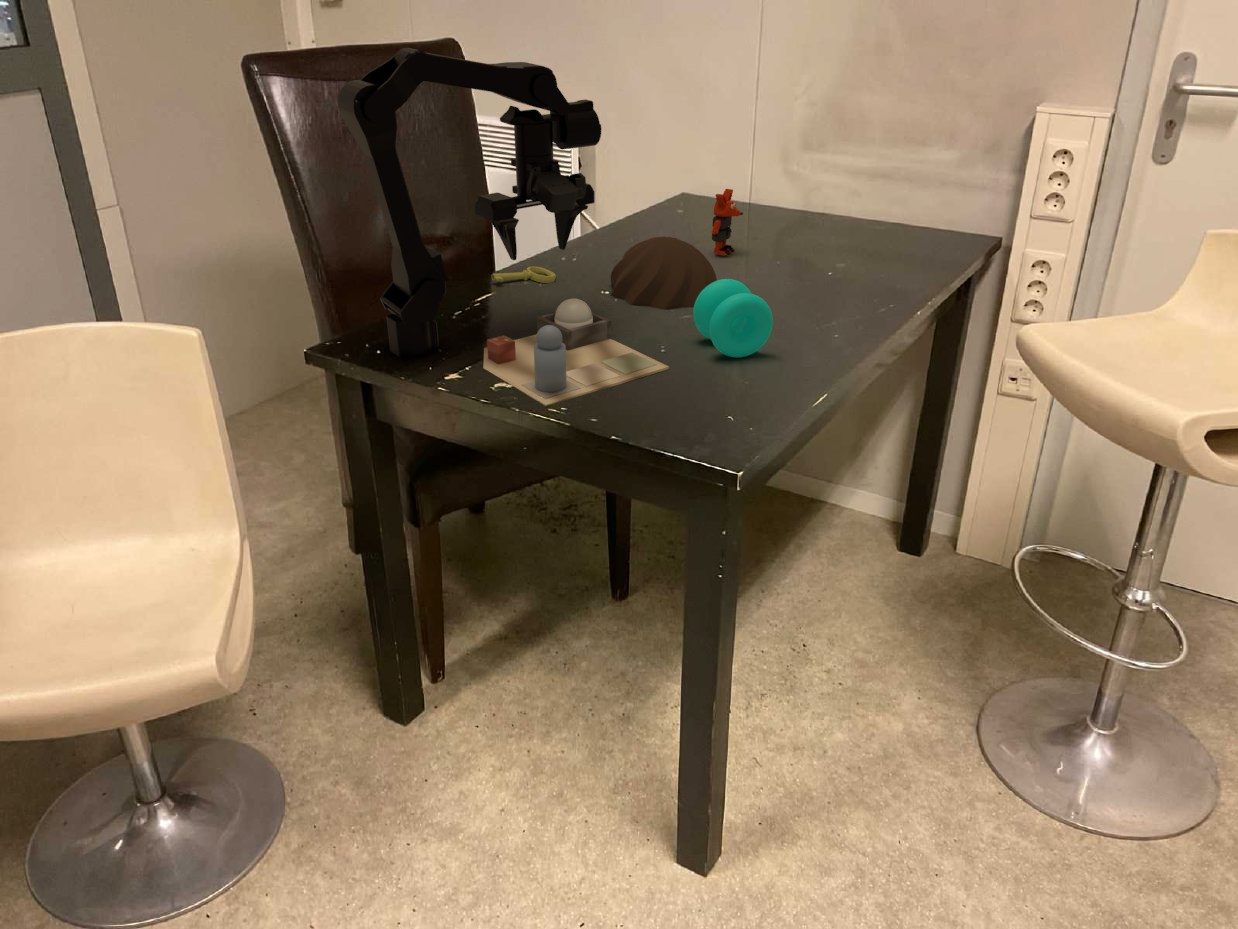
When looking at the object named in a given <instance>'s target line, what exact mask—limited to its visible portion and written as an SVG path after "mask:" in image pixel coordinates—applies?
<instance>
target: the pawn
mask: <svg viewBox="0 0 1238 929" xmlns="http://www.w3.org/2000/svg"><path fill="white" fill-rule="evenodd" d="M536 334H537V336H536V341H537V343H536V344H535V345H534V366H535V387H536V389H537V390H539V391H541V392H547V393H553V392H559V391H562V390H564V389H565V388H566V387H567V383H566V346H565V344H564V343H562V334H561V331H560V330H559V329H558V328H557V327H555V326H552V325H546V326H543V327H542V328H540V330H539V331H538V333H537V332H536Z"/></svg>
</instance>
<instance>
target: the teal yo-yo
mask: <svg viewBox="0 0 1238 929" xmlns="http://www.w3.org/2000/svg"><path fill="white" fill-rule="evenodd" d="M692 317H693V322H694V326H695V327H696V329H697V330H698V331H699V333H700V334H701V335H702V336H703V337H705V338H706V339H708V340H710V341H711V342H712V344H713V346H714V347H715V348H716V350H718V352H720V353H721V354H722V355H724V356H726V357H729V358H730V357H731V358H745V357H748V356H751V355H753V354H755V353H756V352H758V351H759V350H760V349H762V348H763V347H764V345H765V344H766V343H767V342H768V340H769V339H770V336H771V334H772V331H773V327H774V326H773V324H774V319H773V313H772V309H771V308H770V306H769V304H768V303H767V302H766V300H764V299H763V297H760V296H758V295H757V294H754V293H752V292H751V290H750V289H749V287H747V286H746V285H745V283H743V282H741V281H739V280H737V279H731V278H722V279H718V280H717V281H715V282H713V283H711V284H709V285H708V286H707V287H705V288H704V289H703V290H702V291H701V293H700V294H699V296H698V297H697V299H696V302H695V305H694V307H693V311H692Z"/></svg>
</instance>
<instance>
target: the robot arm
mask: <svg viewBox="0 0 1238 929" xmlns="http://www.w3.org/2000/svg"><path fill="white" fill-rule="evenodd" d="M557 81H558V80H557V77H556V75H555V74H554V71H553V70H552V69H551V68H549V67H547V66H544V65H541V64H540V65H539V64H535V63H530V62H527V61H511V62H499V63H485V62H479V61H474V60H468V59H463V58H457V57H451V56H447V55H440V54H435V53H429V52H424V51H423V50H420V49H417V48H411V47H404V48H400V49H399V50H398V51H397V52H396V53H395V54H394V55H393V56H392V57H390V58H389V59H388V60H386V61H384V62H383V63H381V64H379V65H378V66H376V67H375V68H373V69H371V70H370V71H368V72H367V73H366V74H364V75H363V76H362V77H361V78H360V79H355V80H354V79H353V80H351V81H349V82H346V83H345V84H344V85H343V87H342V88H341V89H340V92H339V93H338V94H337V107H338V110H339V113H340V114H341V116H342V119H343V120H344V122H345V124H346V126H347V129H348V130H349V133H350V134H351V135H352V137H353V138H354V139H355V142H356V143H357V145H358V147H359V148H360V149H361V151H362V153H363V155H364V158H365V162H366V165H367V167H368V171H369V174H370V177H371V181H372V183H373V187H374V190H375V194H376V197H377V200H378V204H379V207H380V210H381V213H382V218H383V219H384V222H385V226H386V230H387V232H388V237H389V239H390V243H391V246H392V250H391V263H390V265H391V274H392V281H391V282H390V284H389V285H388V287H387V288H386V289H385V290H384V291H383V293H382V294H381V296H380V297H379V299H380V302H381V303H382V305H383V308H384V309H385V310H386V311H388V312H390V313H391V314H389V315H386V325H387V333H388V341H389V351H390V353H393V355H395V356H397V357H398V358H399V359H400V360H401V361H403V362H404V361H410V360H414V359H419V358H423V357H426V356H431V355H435V354H440V353H442V350H441V349H440V348H439V344H440V343H439V332H438V323H437V321H436V317H437V313H438V309H439V306H440V302H441V301H442V300H443V299H444V296H445V295H446V294H447V284H446V282H449V280H450V279H449V277H448V276H447V275H446V273H445V269H444V263H443V257H442V255H441V254H440V253H439V252H437V251H435V250H433V249H432V248H431V247H428V246H427V245H425V243H424V241H423V237H422V234H421V231H420V227H419V224H418V221H417V217H416V213H415V210H414V206H413V203H412V200H411V196H410V193H409V189H408V185H407V183H406V179H405V175H404V171H403V169H402V165H401V162H400V159H399V154H398V151H397V140H398V130H399V129H398V121H397V120H398V119H397V111H398V110H399V109H400V108H401V107H402V106H404V104H406V103H407V102H408V100H409V99H410V97H411V96H412V95H413V93H414V92H415V90H416V89H417V88H418V87H419V85H421V84H422V83H423V82H427V83H428V82H429V83H434V84H441V85H447V86H454V87H457V88H458V87H460V88H464V89H465V88H466V89H470V90H476V91H477V90H478V91H483V92H489V93H493V94H495V95H498V96H501V97H502V98H506V99H508V100H511V101H513V102H516V103H520V104H523V105H526V106H529V107H533V108H537V109H541V110H545V111H548V112H549V113H546V114H542V113H541V112H540V111H539V110H537V109H526V110H522V109H521V110H520V109H519V107H517V106H514V105H509V106H508V109H506V112H504V113H503V114H502V116H500V117H499V122H501V123H503V124H505V125H506V124H507V125H510V126H513V127H514V128H513V130H514V132H513V133H514V150H515V151H514V152H515V153H514V154H515V157H513V158H510V165H511V167H515V172H516V173H515V176H516V184H515V185H512V190H511V192H512V193H513V194H515V196H508V195H506V194H503V193H500V192H493V193H487V194H481V195H478V197H477V198H476V200H475V201H474V209H475V210H474V211H475V215H477V216H480V217H482V218H483V219H484V220H485V221H486V220H487V221H489V222H490V223H491V224H492V226H493V228H494V229H495V231H496V232H497V234H498V236H499V238H500V240H501V242H502V244H503V246H504V248H505V250H506V252H507V254H508V256H509V259H511V260H512V261H516V260H517V254H518V252H517V251H518V250H517V248H518V247H517V237H516V228H517V226H518V223H519V222H520V221H519V220H520V219H518V218H515V216H516V215H517V213H518V210H521V209H526V208H531V207H536V206H537V207H538V206H541V205H543V206H544V208H545V210H546V211H547V212H549V213H552V214H553V215H554V221H555V229H556V238H557V243H558V244H557V245H558V248H559V249H560V250H562V251H565V250H566V247H567V244H568V240H569V238H570V235H571V231H572V230H573V226H574V223H575V221H576V219H577V217H578V216H579V215H580V214H581V213H582V212H583V211H586V210H588V208H589V206H588V205H590V204H595V202H596V201H595V200H596V199H595V198H596V197H595V193H596V192H595V191H594V188H593V186H592V185H591V184H589V183H587V181H586V176H585V175H583V173H582V172H577V173H573V174H572V173H571V174H570V175H568V174H567V175H562V173H561V170H560V168H561V166H560V164H559V160H558V159H557V160H556V159H554V144H555V145H556V147H557V148H559V150H569V149H571V150H572V149H577V148H585V147H594V146H596V145H598V144H599V142H600V140H601V137H602V124H601V123H600V120H599V119H600V118H599V116H598V113H597V112H596V110H595V109H594V102H593V100H589V99H585V98H584V99H579V100H577V101H571V102H569V101H568V100H567V98H565V96H564V94H563V93H562V91H561V90H560V89H559V87H558V82H557Z"/></svg>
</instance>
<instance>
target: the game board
mask: <svg viewBox="0 0 1238 929" xmlns="http://www.w3.org/2000/svg"><path fill="white" fill-rule="evenodd" d="M591 312H592V316H593V323H591V324H587V325H583V326H580V327H576V328H572V329H567V328H564V327H562V326H560V325H558V324H556V323H555V314H556V311H555V312H551V313H547V314H543V315H539V316H536V334H533V335H529V336H525V337H522V338H518V339H517V338H516V339H512V338H510V337H508V336H506V335H500V336H496V337H492V338H489V339H486V345H487V346H486V347H484V348H483V369H484V370H486V371H487V372H490V373H491V374H493V375H494V376H496V377H498V378H499V379H501V380H502V381H504V382H505V383H506V384H509V385H510V386H512V387H514V388H515V389H517V390H519V391H520V392H522V393H523V394H525V395H527V396H528V397H530V398H531V399H533V400H535V401H536V402H538V403H540V404H542V405H543V406H545V407H546V406H550V405H551V406H552V405H555V404H557V403H560V402H564V401H567V400H571V399H574V398H577V397H581V396H584V395H588V394H591V393H594V392H599V391H602V390H605V389H609V388H612V387H615V386H619V385H622V384H624V383H629V382H633V381H635V380H638V379H642V378H644V377H648V376H651V375H655V374H656V373H661V372H664V371H667V370H669V369H670V366H669V365H667V364H664V363H663V362H660V361H658V360H657V359H654V358H652V357H649V356H648V355H645V354H644V353H641V352H639V351H637V350H635V349H634V348H631V347H628V346H627V345H624V344H623V343H620V342H618V341H616V340H614V339H612V319H609V318H607V317H605V316H602V315H600V314H598V313H596V312H594V311H592V310H591ZM546 325H552V326H555V327H557V328H558V329H559V330H560V331H561V334H562V343H564V344H565V346H566V383H567V387H566V388H565V389H564V390H562V391H559V392H553V393H547V392H541V391H539V390H537V389H536V387H535V366H534V345H535V344H536V343H537V341H536V336H537V333H538V331H539V330H540V328H542V327H543V326H546Z"/></svg>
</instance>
